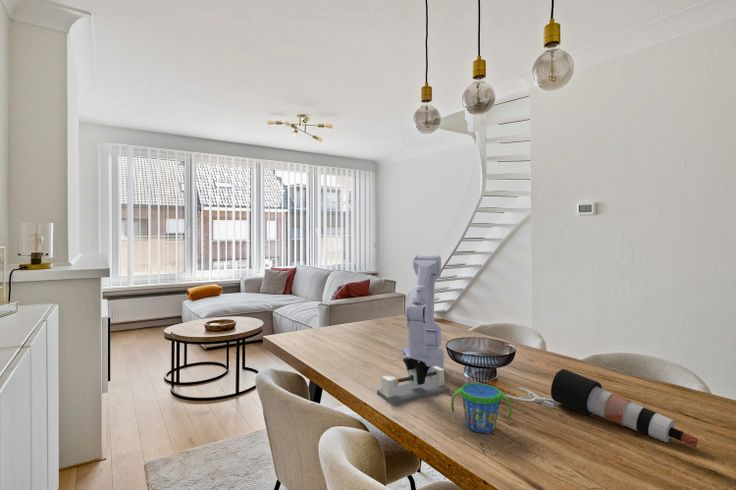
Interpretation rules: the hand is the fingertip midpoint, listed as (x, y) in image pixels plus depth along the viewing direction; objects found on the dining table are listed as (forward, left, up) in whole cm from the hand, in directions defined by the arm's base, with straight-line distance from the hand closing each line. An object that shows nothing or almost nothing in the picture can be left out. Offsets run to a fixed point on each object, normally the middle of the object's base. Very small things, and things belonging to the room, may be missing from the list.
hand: (416, 381), depth 131 cm
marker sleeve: (0, 0, 0) cm, 0 cm away
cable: (-35, +45, -4) cm, 57 cm away
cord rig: (+1, 0, -3) cm, 4 cm away
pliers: (-29, +22, -4) cm, 37 cm away
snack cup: (-1, +28, -4) cm, 28 cm away
